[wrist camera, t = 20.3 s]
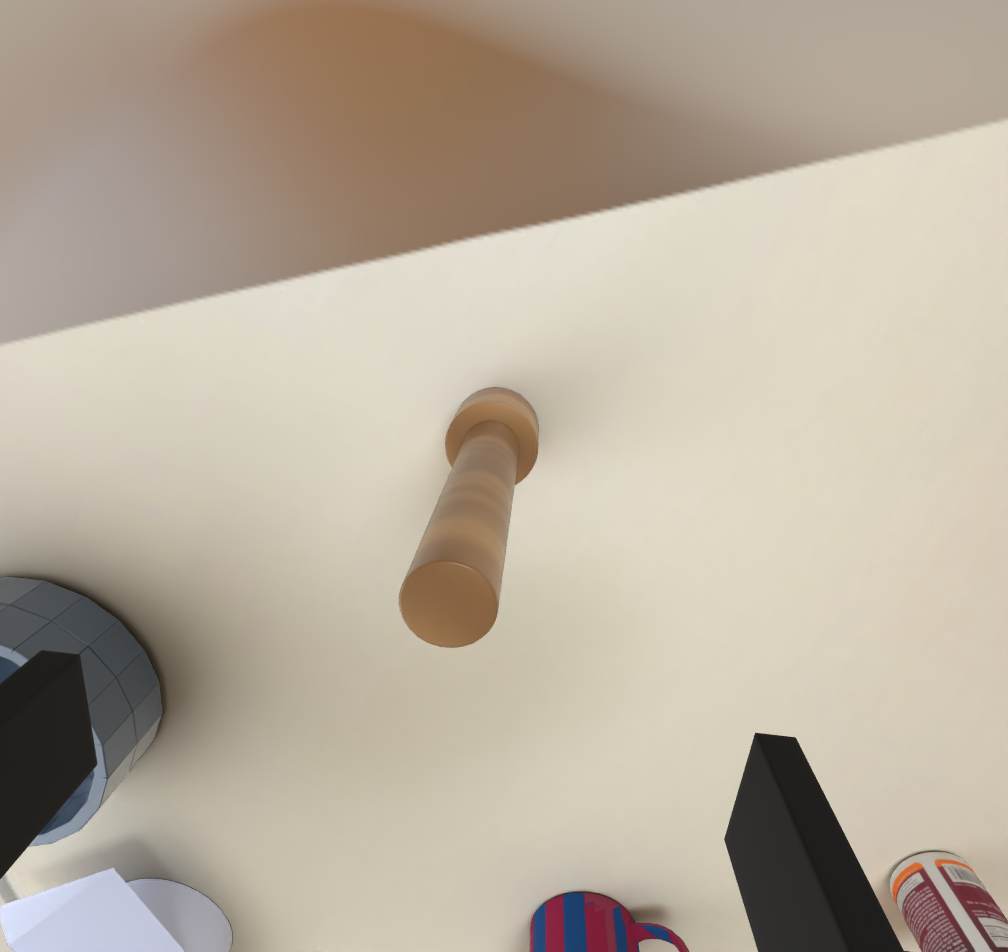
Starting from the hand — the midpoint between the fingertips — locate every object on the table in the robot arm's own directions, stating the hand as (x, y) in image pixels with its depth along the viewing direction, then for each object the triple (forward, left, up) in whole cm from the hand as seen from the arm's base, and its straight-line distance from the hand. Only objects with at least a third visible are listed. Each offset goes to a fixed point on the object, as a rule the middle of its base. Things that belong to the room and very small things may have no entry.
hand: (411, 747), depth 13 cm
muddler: (-1, 0, -19) cm, 19 cm away
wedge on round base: (+34, -20, -20) cm, 44 cm away
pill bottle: (+23, +28, -20) cm, 41 cm away
